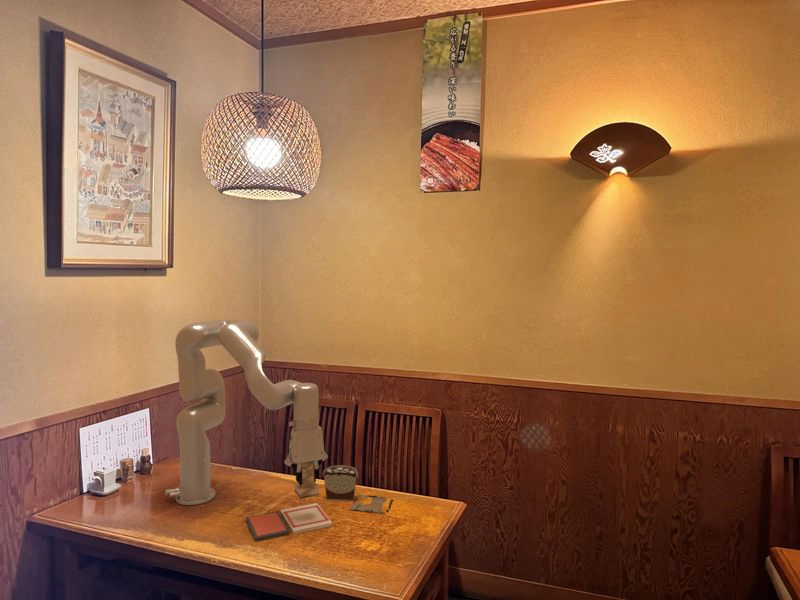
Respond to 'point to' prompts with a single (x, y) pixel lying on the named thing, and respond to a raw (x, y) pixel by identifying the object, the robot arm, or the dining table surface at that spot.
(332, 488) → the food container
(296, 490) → the stamp
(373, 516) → the dining table surface
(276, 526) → the ink pad
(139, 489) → the dining table surface
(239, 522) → the dining table surface
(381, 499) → the parchment
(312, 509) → the marked board
